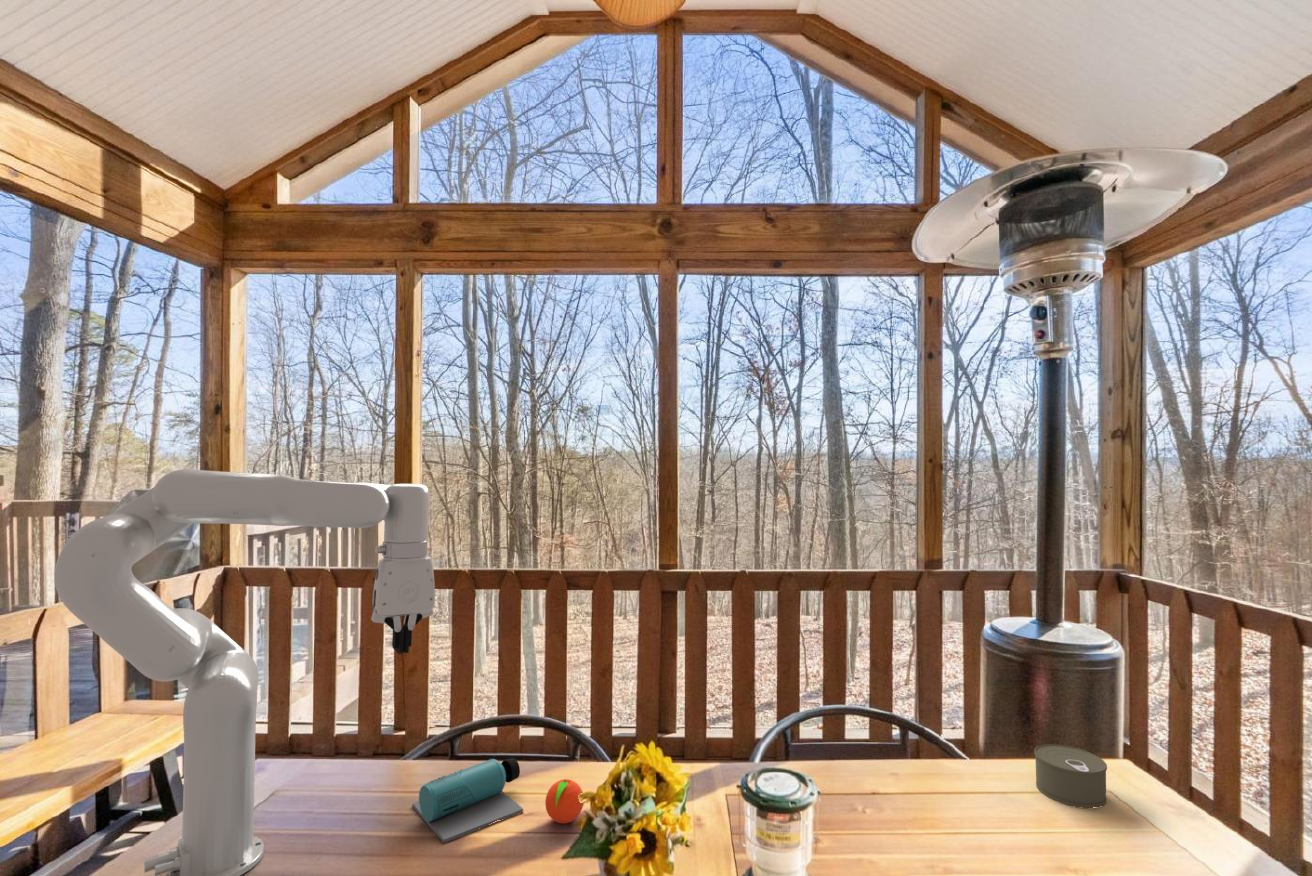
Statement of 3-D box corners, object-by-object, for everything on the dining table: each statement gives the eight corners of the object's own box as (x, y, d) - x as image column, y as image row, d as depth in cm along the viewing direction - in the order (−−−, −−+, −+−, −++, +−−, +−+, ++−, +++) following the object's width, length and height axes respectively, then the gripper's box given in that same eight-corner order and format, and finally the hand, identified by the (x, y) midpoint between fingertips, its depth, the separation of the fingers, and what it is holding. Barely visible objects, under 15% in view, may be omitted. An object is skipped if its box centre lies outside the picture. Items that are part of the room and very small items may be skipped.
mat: (443, 843, 109) (443, 839, 109) (412, 806, 120) (412, 803, 120) (523, 812, 118) (523, 808, 118) (487, 780, 130) (487, 777, 130)
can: (1085, 779, 132) (1085, 745, 132) (1121, 811, 120) (1121, 774, 120) (1024, 776, 133) (1023, 742, 133) (1053, 807, 121) (1052, 770, 121)
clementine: (574, 837, 111) (575, 795, 111) (536, 832, 112) (537, 791, 112) (588, 812, 119) (589, 773, 119) (553, 808, 120) (553, 769, 120)
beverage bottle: (429, 819, 110) (529, 779, 124) (419, 780, 113) (517, 745, 127) (416, 831, 114) (514, 790, 128) (406, 793, 117) (503, 757, 131)
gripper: (367, 556, 111) (363, 663, 110) (452, 550, 120) (449, 650, 119) (356, 550, 117) (352, 653, 116) (438, 546, 126) (435, 641, 125)
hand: (401, 651), depth 118 cm, fingers closed
